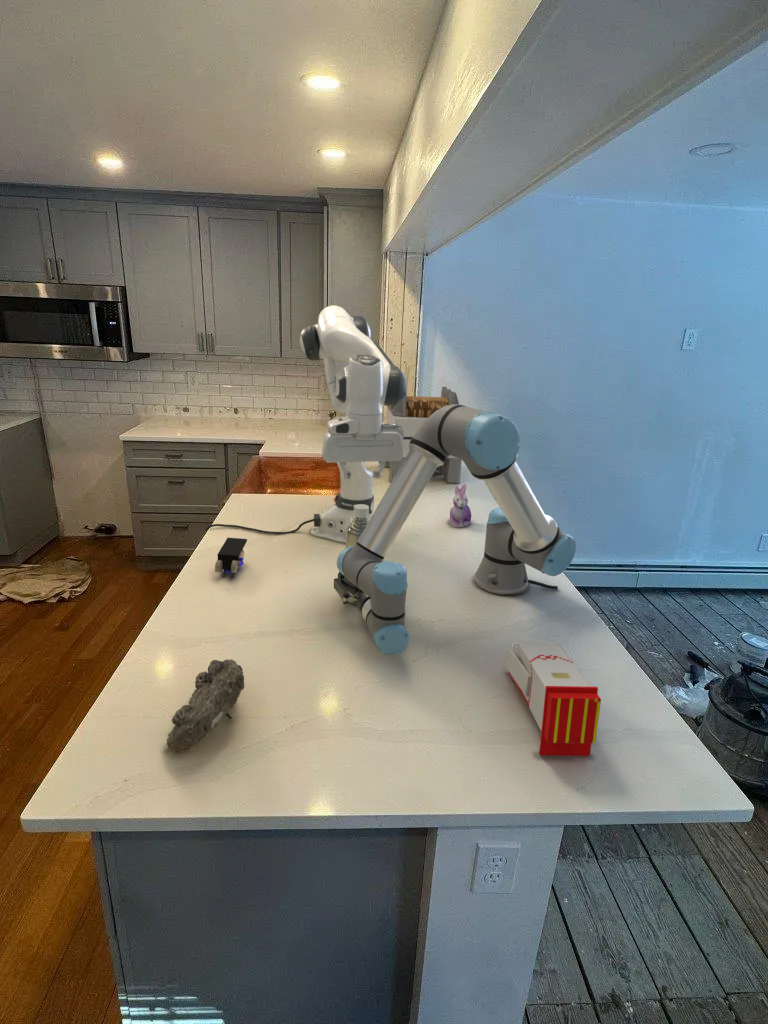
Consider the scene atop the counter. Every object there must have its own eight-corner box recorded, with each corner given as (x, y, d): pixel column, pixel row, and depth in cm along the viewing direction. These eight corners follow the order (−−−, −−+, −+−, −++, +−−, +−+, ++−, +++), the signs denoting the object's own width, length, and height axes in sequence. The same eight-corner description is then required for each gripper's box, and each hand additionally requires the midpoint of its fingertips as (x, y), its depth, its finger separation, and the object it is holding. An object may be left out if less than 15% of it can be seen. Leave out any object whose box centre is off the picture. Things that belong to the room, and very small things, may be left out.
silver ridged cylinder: (347, 605, 151) (349, 513, 142) (342, 591, 158) (344, 503, 149) (375, 602, 153) (379, 512, 144) (369, 589, 160) (372, 502, 151)
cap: (355, 518, 145) (355, 509, 144) (352, 513, 148) (352, 504, 147) (369, 517, 146) (370, 508, 145) (366, 512, 149) (367, 503, 148)
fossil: (192, 660, 117) (244, 628, 112) (224, 691, 120) (276, 661, 115) (142, 746, 98) (202, 712, 93) (182, 779, 101) (242, 748, 96)
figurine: (457, 529, 205) (460, 490, 200) (441, 520, 214) (444, 482, 209) (478, 526, 210) (482, 487, 205) (462, 517, 218) (465, 480, 213)
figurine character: (238, 584, 162) (249, 557, 175) (236, 562, 158) (247, 536, 172) (215, 584, 161) (227, 556, 175) (212, 561, 158) (225, 535, 171)
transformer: (382, 463, 289) (386, 382, 275) (445, 464, 293) (451, 384, 279) (390, 482, 257) (394, 392, 243) (460, 483, 261) (468, 394, 247)
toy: (554, 624, 127) (610, 694, 97) (548, 679, 130) (602, 763, 100) (500, 623, 126) (541, 693, 97) (496, 678, 129) (534, 763, 100)
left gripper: (401, 421, 144) (398, 473, 149) (321, 421, 139) (320, 475, 144) (408, 426, 139) (405, 480, 143) (324, 426, 134) (324, 483, 138)
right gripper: (334, 627, 135) (318, 583, 156) (415, 618, 141) (390, 577, 161) (334, 599, 133) (318, 558, 153) (417, 591, 138) (391, 553, 159)
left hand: (362, 478), depth 144 cm, fingers open, 6 cm apart
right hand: (355, 568), depth 157 cm, fingers closed on silver ridged cylinder, 8 cm apart
